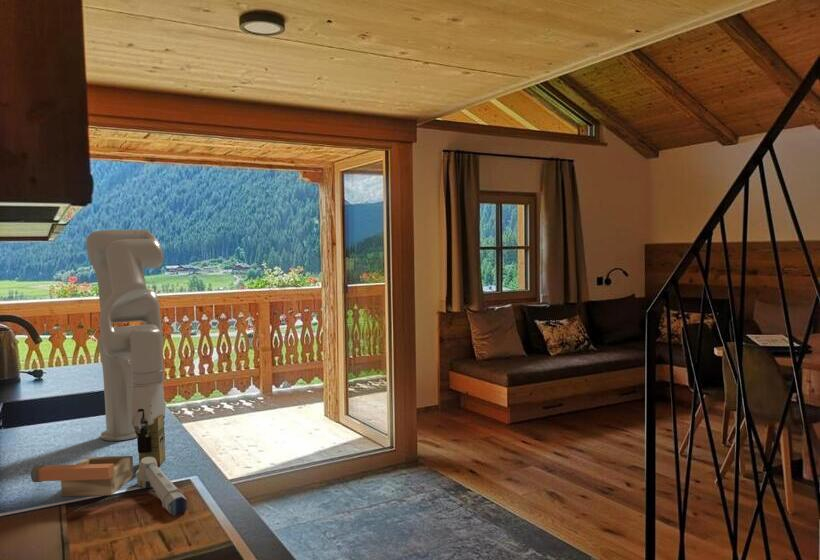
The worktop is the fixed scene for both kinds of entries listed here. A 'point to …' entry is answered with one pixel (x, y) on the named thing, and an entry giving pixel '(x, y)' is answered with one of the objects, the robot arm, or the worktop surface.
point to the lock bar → (72, 472)
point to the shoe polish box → (156, 441)
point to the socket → (101, 486)
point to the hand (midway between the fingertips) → (151, 446)
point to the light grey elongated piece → (161, 486)
